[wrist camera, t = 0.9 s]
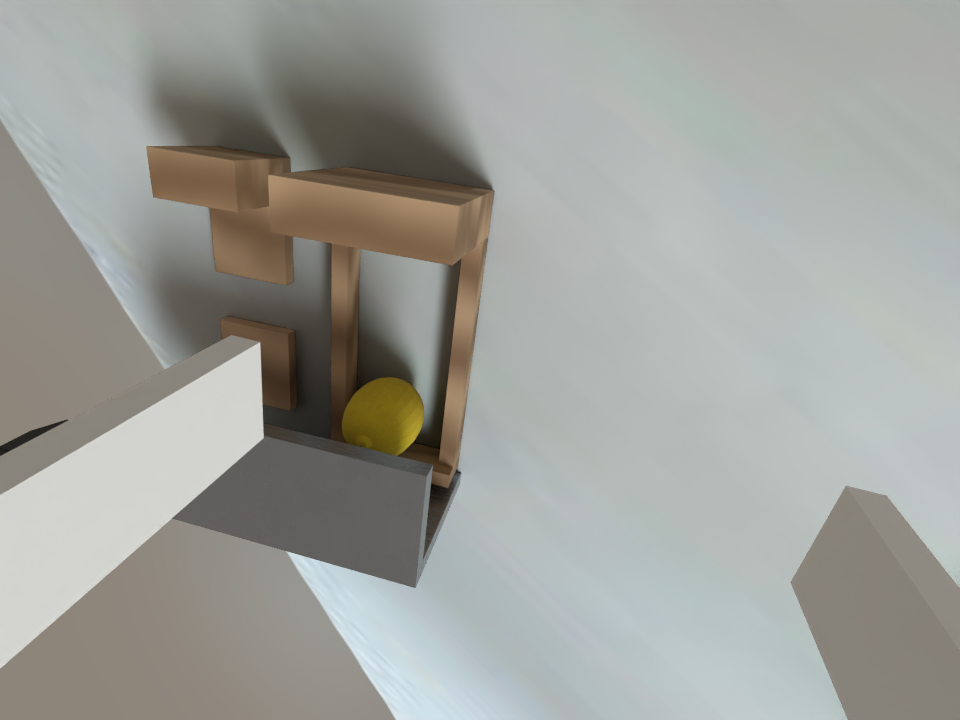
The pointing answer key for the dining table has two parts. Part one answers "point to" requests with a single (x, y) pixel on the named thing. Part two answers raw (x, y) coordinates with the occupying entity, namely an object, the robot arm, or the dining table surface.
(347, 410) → the lemon
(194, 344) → the dining table surface
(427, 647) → the dining table surface
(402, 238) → the wooden frame
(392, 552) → the shelf
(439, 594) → the dining table surface
